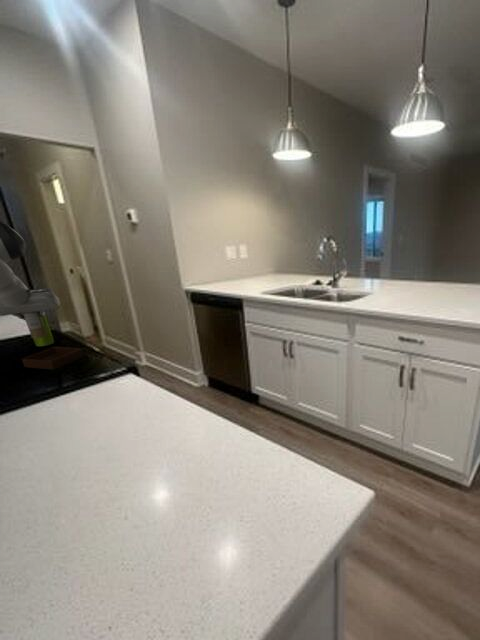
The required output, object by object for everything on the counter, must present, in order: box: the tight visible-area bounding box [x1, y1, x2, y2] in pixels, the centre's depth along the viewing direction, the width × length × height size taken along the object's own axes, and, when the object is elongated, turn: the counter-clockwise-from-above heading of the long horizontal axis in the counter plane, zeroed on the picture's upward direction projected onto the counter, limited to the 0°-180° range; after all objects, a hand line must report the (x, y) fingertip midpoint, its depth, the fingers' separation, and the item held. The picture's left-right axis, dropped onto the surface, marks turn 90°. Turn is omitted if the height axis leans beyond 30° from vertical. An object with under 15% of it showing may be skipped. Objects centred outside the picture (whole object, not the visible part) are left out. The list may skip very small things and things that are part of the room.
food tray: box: [21, 346, 85, 371], centre depth 111 cm, size 12×11×3 cm
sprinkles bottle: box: [23, 311, 47, 339], centre depth 116 cm, size 5×5×13 cm
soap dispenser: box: [32, 315, 55, 347], centre depth 125 cm, size 6×7×20 cm
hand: (32, 315), depth 117 cm, fingers closed on sprinkles bottle, 4 cm apart
